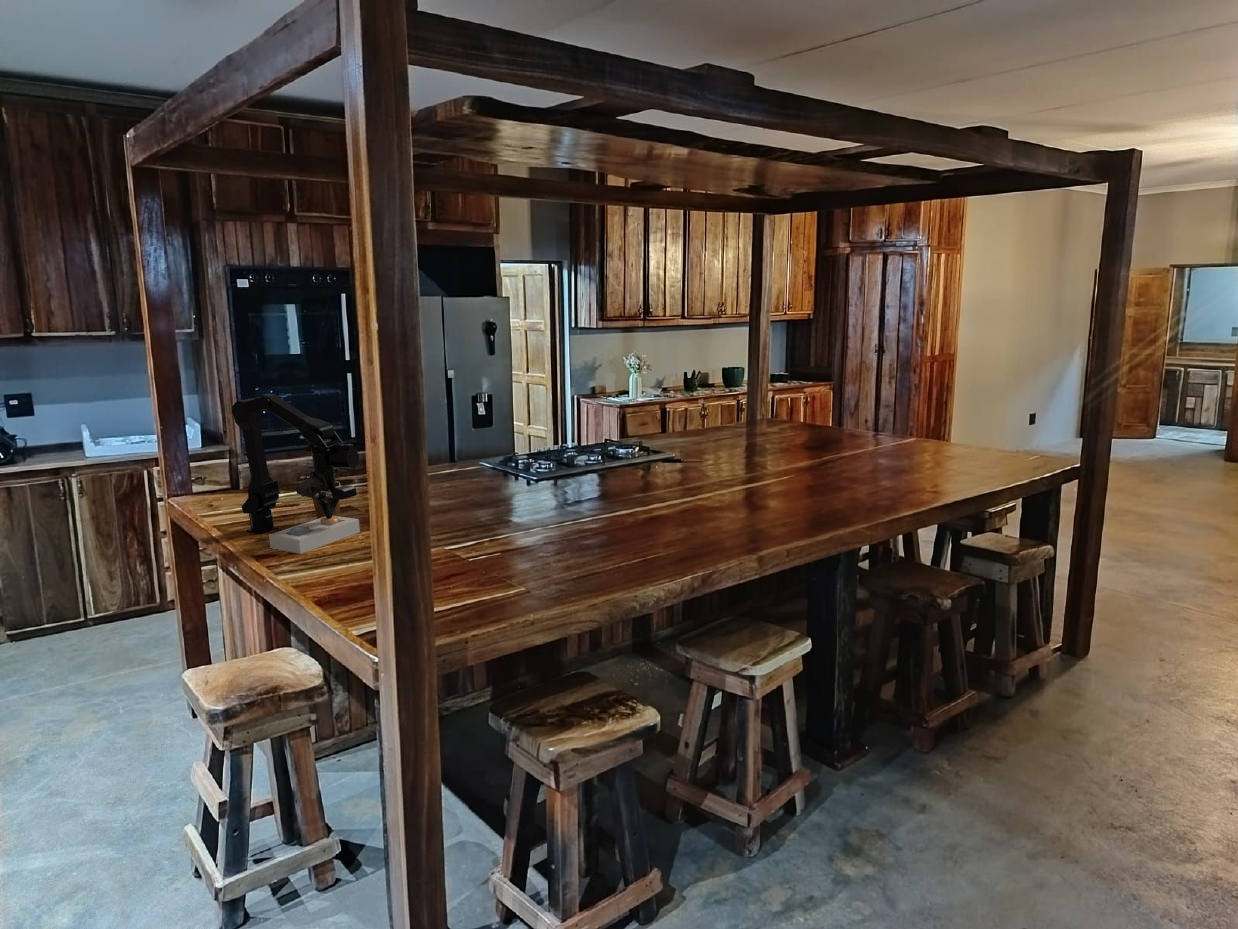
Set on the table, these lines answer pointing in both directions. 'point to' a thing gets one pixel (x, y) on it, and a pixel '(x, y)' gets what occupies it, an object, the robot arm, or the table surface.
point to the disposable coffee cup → (320, 512)
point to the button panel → (314, 535)
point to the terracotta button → (329, 521)
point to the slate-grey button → (299, 530)
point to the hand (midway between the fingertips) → (329, 518)
